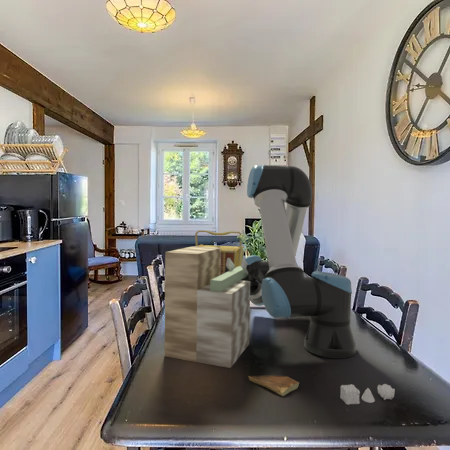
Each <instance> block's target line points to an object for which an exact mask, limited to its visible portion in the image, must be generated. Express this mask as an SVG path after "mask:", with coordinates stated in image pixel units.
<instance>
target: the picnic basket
mask: <svg viewBox="0 0 450 450" xmlns="http://www.w3.org/2000/svg"><path fill="white" fill-rule="evenodd" d="M198 233H207V234H209V235H212V236H226V235H229V234H238V235H239V236H240V235H241V234H242V232H240V231H234V230H229V231H224V232H213V231H211V230H202V229H201V230H197V231H196V232H195V235H194V237H195V238H194V239H195V246H196V247H214V248H221V273H220V275H222V274H224V272H225V267H226V263H227V258H230V259H231V261H232V262H233V263H234V265H235V268H236V267H238V266H241V264H242V259H244V254H245V253H244V252H245V250H244V251H243V248H244V249H245V247H244V245H242V244H243V242H242V243H241V241H240V240H239V245H238V246H234V245H231V246H230V245H208V244H205V245H204V244H199V241H198ZM242 235H243V234H242Z"/></svg>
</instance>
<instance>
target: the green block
mask: <svg viewBox="0 0 450 450" xmlns="http://www.w3.org/2000/svg"><path fill="white" fill-rule="evenodd" d="M246 276H248V274H246V273H245V272H244V270H243V269H242V267H241V266H238V267H236V268H234V269H232V270H230V271H228V272H226V273H224V274H222V275H220V276H218V277H215V278H213V279H211V280H210V291H217V292H222V291H223V290H225V289H227V288H228V287H230V286H232V285H233V284H235V283H236V282H238V281H240V280H241V279H243V278H245V277H246Z"/></svg>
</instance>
